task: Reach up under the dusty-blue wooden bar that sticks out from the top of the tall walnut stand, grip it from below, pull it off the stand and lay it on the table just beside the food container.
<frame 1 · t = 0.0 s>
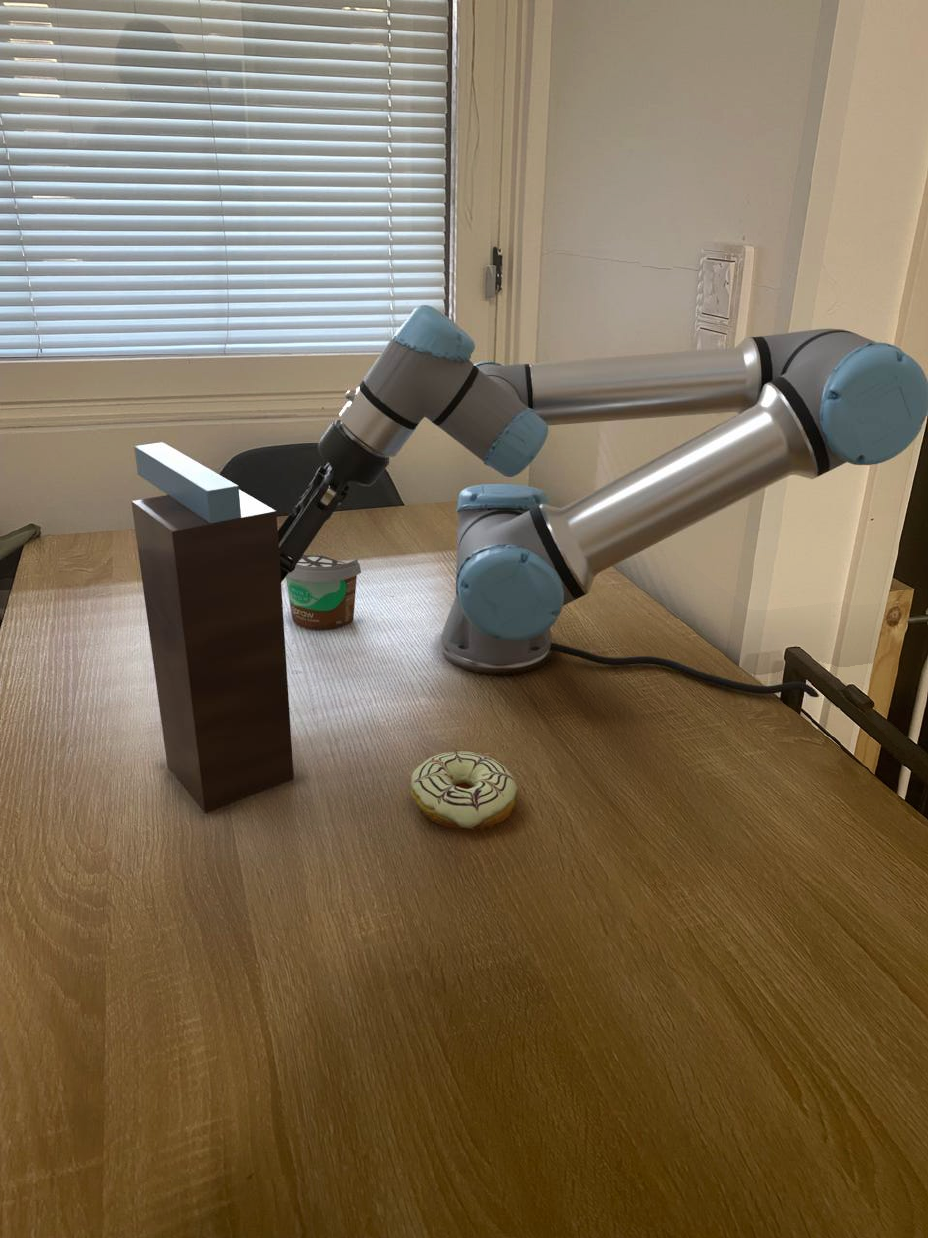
hand: (260, 581, 106), 15 cm above the table, tool tilted 35°, fingers open, 13 cm apart
food container: (314, 625, 131), on the table
bar: (186, 494, 88), point 30 cm above the table, touching stand
stand: (230, 772, 98), on the table
decorated donut: (463, 806, 94), on the table
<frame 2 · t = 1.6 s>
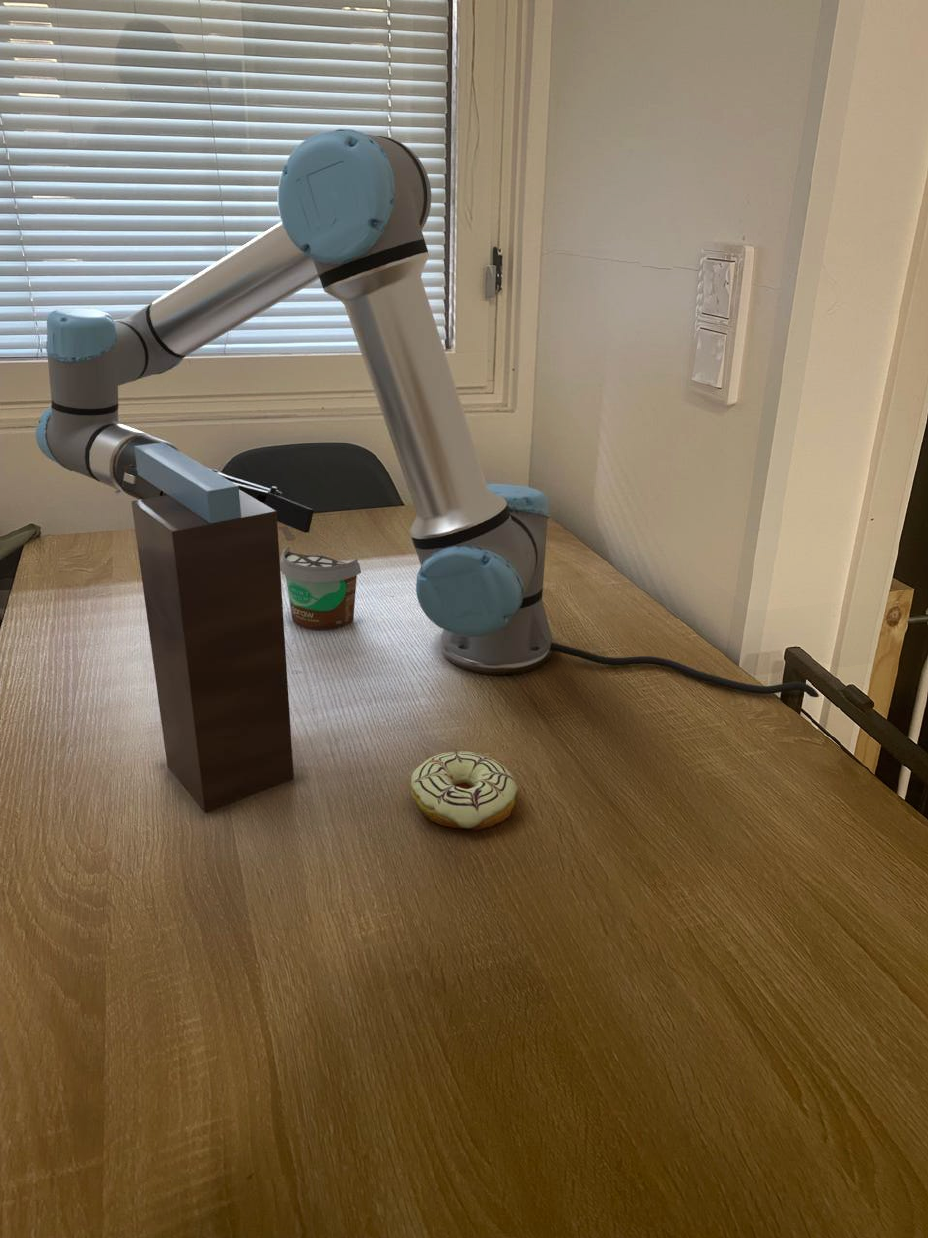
hand: (276, 521, 98), 24 cm above the table, tool horizontal, fingers open, 10 cm apart
nothing on the table moved.
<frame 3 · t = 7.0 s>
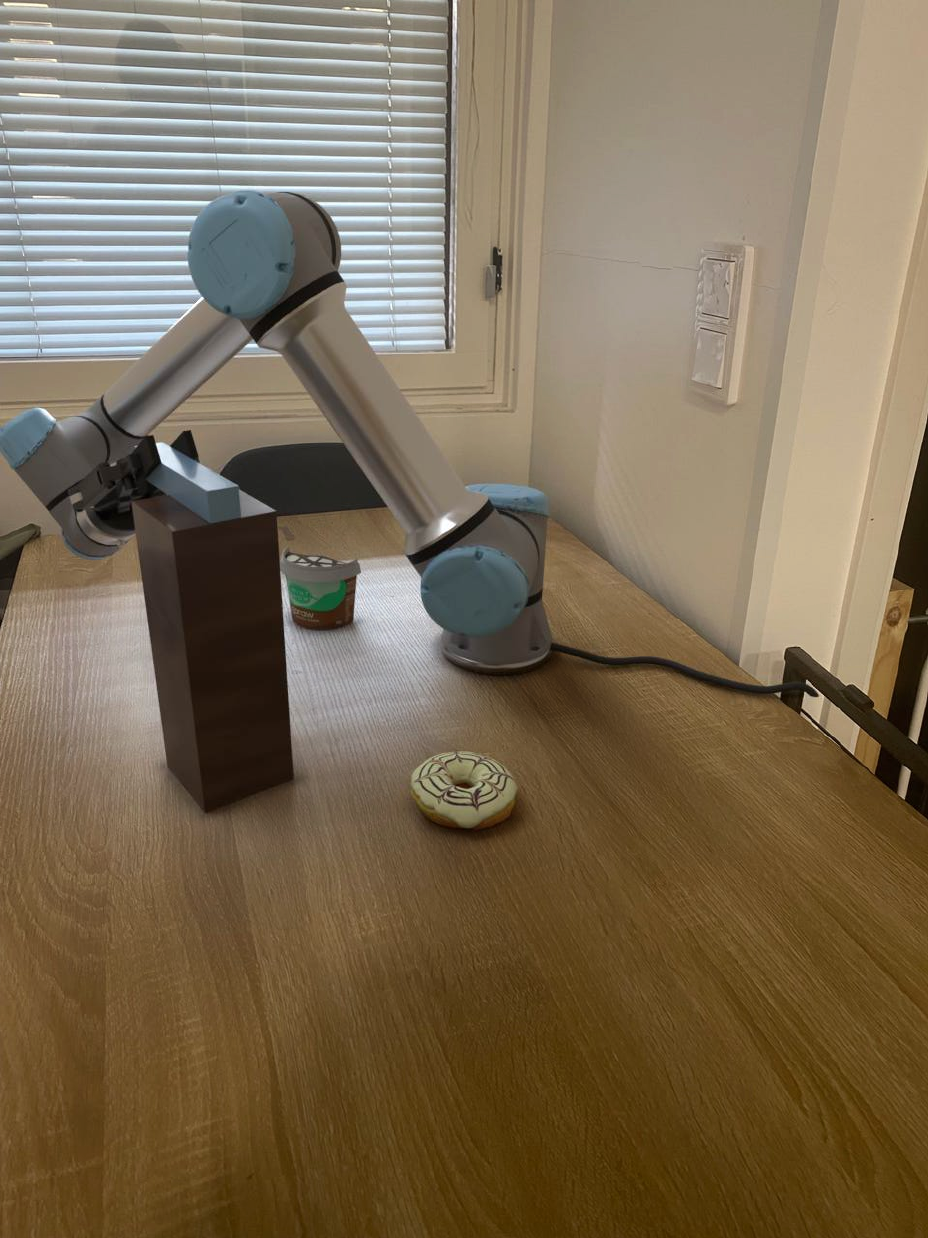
hand: (172, 446, 87), 34 cm above the table, tool pointing upward, fingers closed on bar, 3 cm apart
bar: (186, 494, 88), point 30 cm above the table, touching gripper, stand
everything else where it was.
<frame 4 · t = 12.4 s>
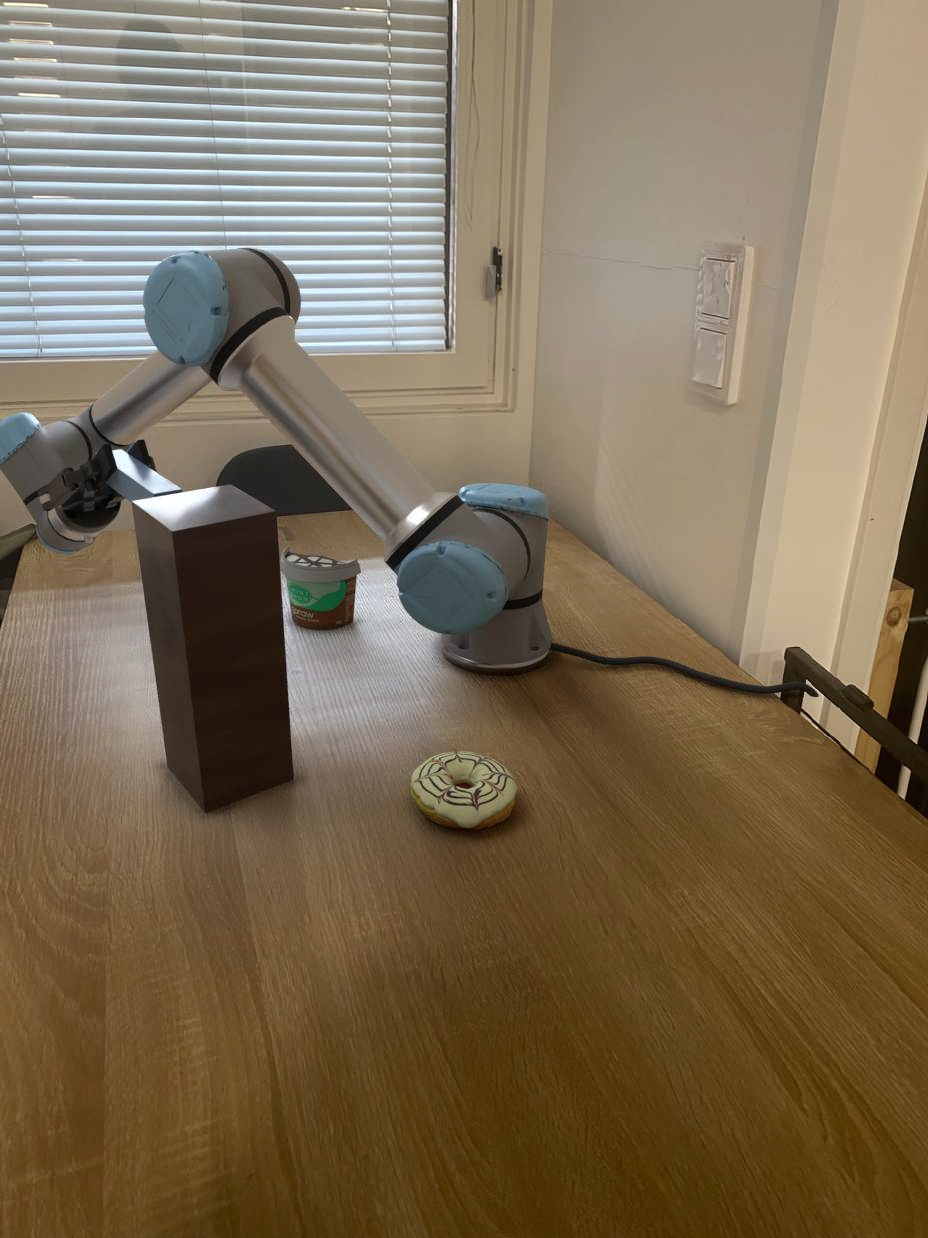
hand: (127, 453, 99), 30 cm above the table, tool pointing upward, fingers closed on bar, 3 cm apart
bar: (139, 496, 99), point 26 cm above the table, touching gripper
everything else where it was.
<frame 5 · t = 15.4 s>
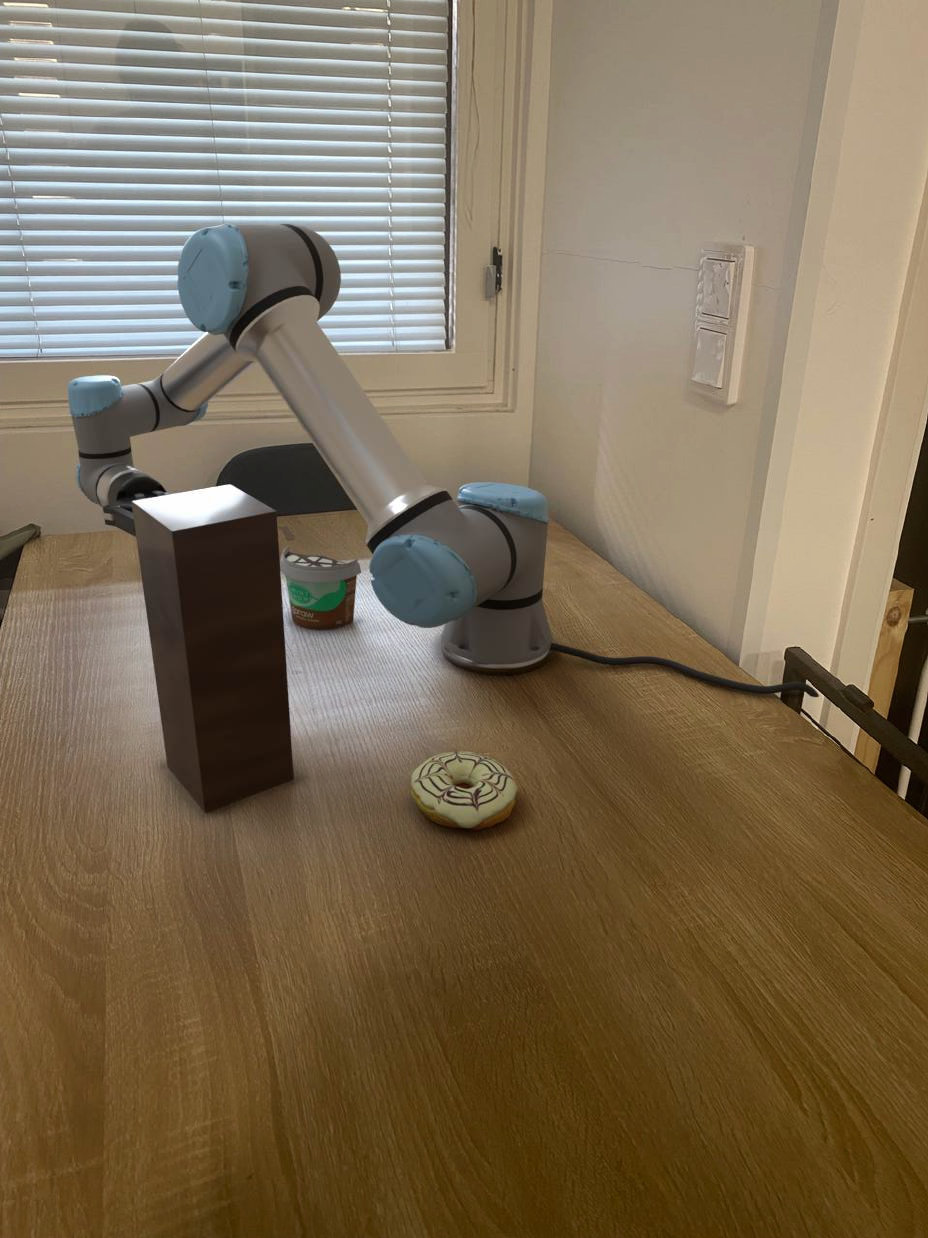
hand: (199, 536, 115), 17 cm above the table, tool horizontal, fingers closed on bar, 3 cm apart
bar: (203, 572, 117), point 12 cm above the table, tilted 28°, touching gripper
everything else where it was.
when the fingers open (9 cm above the table, at t = 18.0 s): bar drops 4 cm, on the table.
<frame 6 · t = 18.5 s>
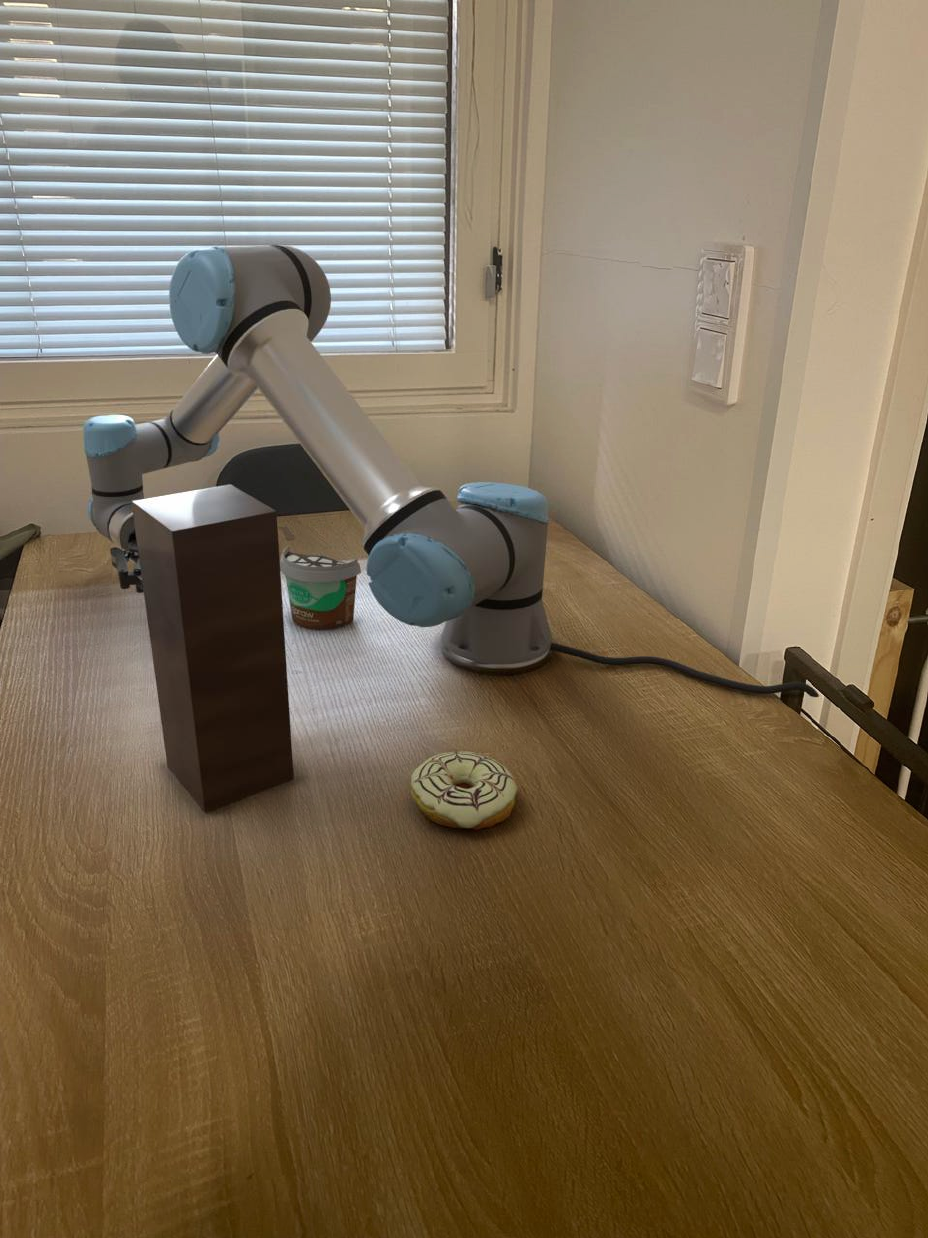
hand: (204, 585, 120), 9 cm above the table, tool horizontal, fingers open, 10 cm apart
bar: (210, 645, 124), on the table
everything else where it was.
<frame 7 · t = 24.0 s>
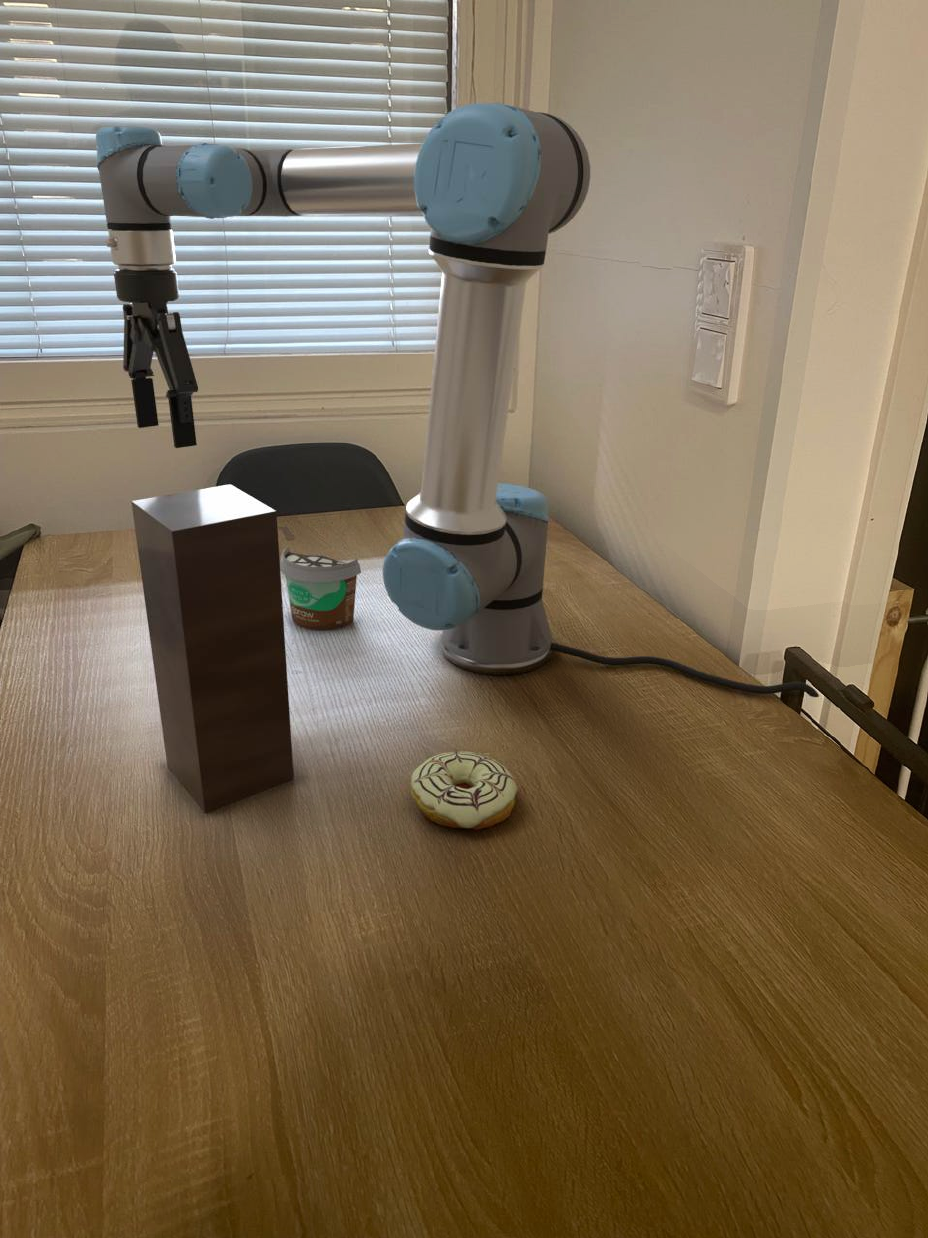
hand: (166, 436, 122), 26 cm above the table, tool pointing down, fingers open, 13 cm apart
nothing on the table moved.
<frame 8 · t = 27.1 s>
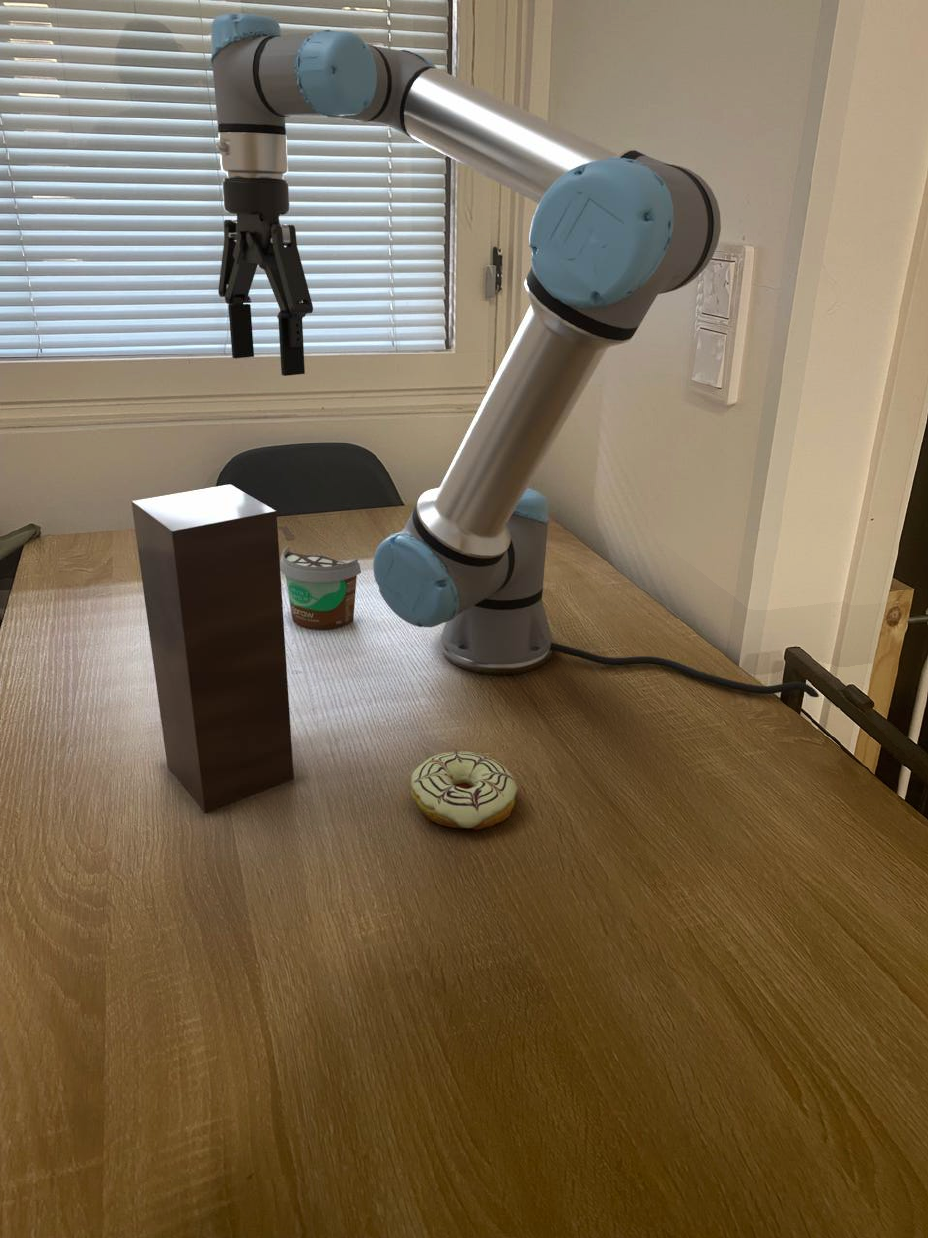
hand: (267, 365, 114), 37 cm above the table, tool pointing down, fingers open, 13 cm apart
nothing on the table moved.
at the end: bar inside the target area on the table beside the food container (2.1 cm from its centre), on the table; the gripper is holding nothing; bar touching table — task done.
